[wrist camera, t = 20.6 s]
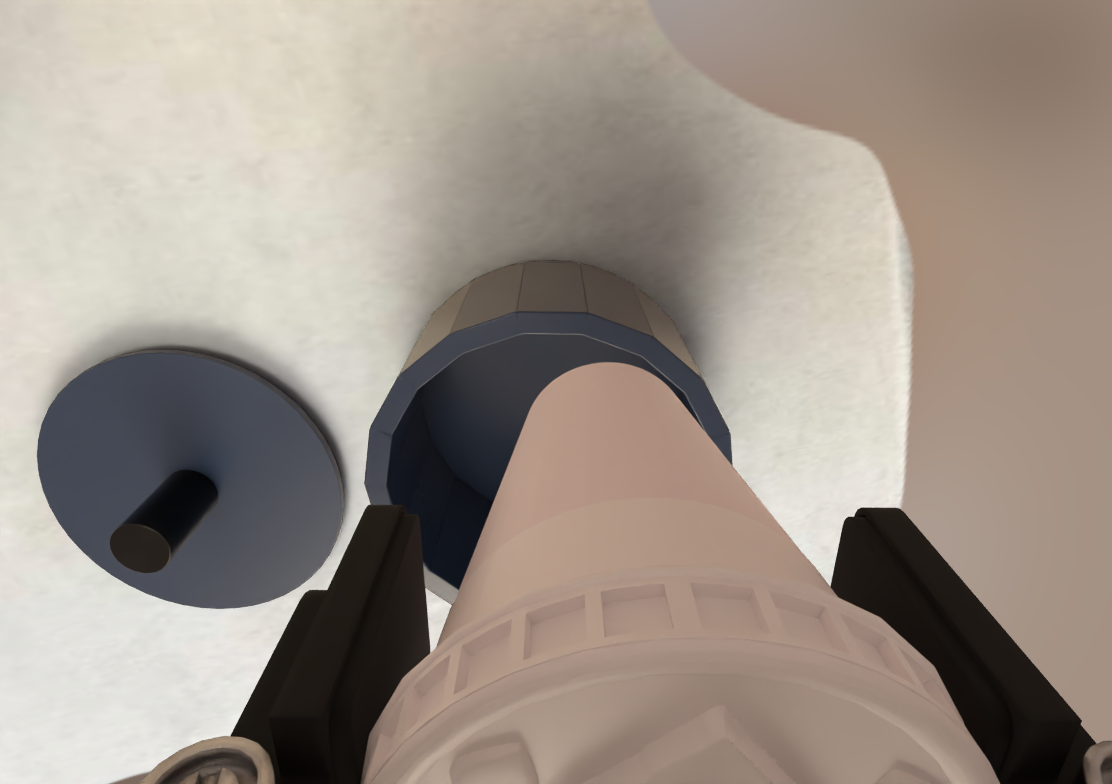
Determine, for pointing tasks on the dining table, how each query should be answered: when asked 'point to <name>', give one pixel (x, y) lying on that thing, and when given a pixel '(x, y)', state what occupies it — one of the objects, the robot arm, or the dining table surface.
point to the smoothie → (655, 628)
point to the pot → (507, 392)
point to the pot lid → (190, 479)
